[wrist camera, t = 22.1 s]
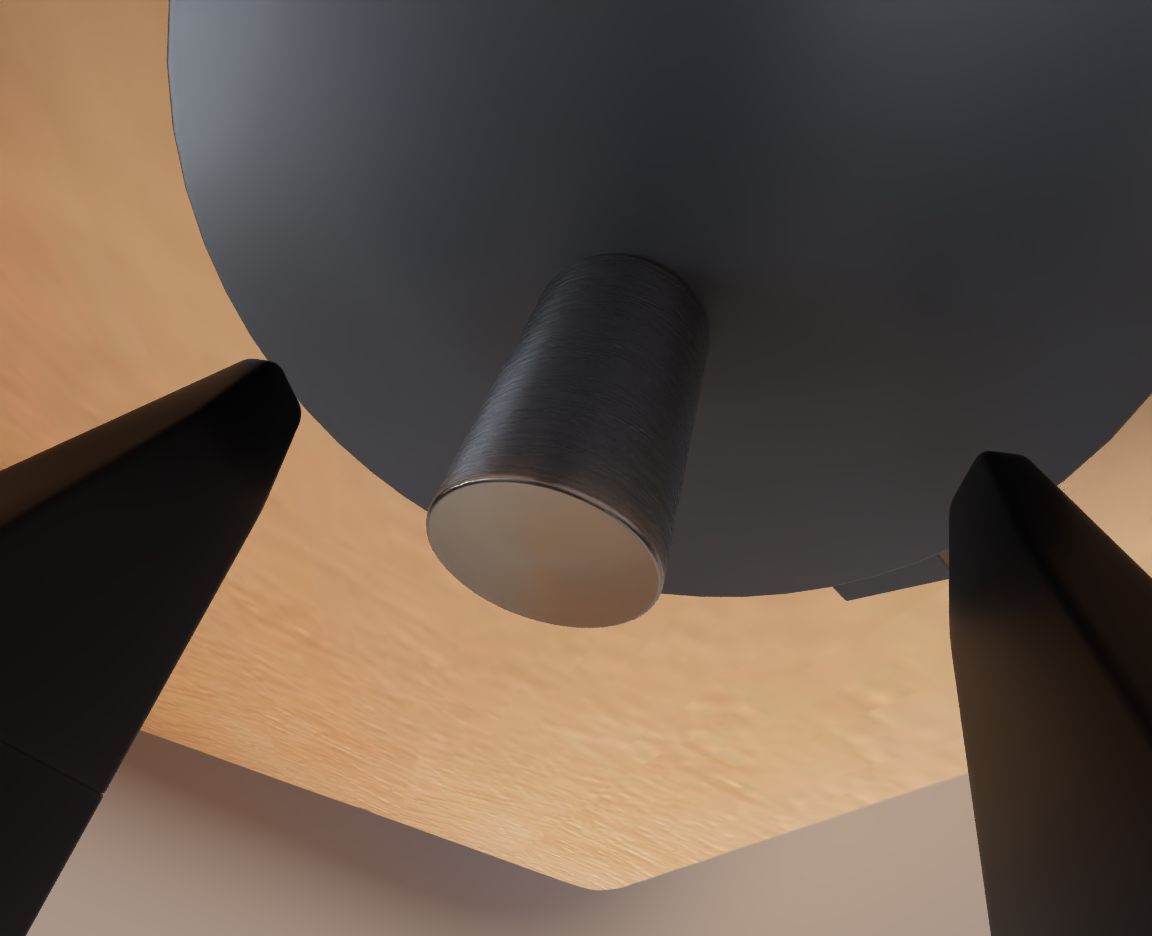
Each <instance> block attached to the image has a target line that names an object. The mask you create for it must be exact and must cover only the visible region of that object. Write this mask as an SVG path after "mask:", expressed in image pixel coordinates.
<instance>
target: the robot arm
mask: <svg viewBox="0 0 1152 936" xmlns="http://www.w3.org/2000/svg"><path fill="white" fill-rule="evenodd" d="M300 418H301V408H300V404H299V402H298V400H297V398H296V396H295V394H294V392H293V390H292V388H291V386H290V384H289V382H288V379H287V377H286V375H285V373H284V371H283V370H282V368H281V367H280V366H279V365H278V364H277V363H275V362H272V361H266V360H258V359H246V360H243V361H241V362H238V363H236V364H234V365H232V366H230V367H227V368H225V369H223V370H221V371H219V372H216V373H214V374H212V375H210V376H208V377H206V378H203V379H201V380H199V381H197V382H195V383H192V384H190V385H188V386H186V387H184V388H181V389H179V390H177V391H175V392H173V393H170V394H168V395H166V396H164V397H162V398H159V399H157V400H155V401H153V402H151V403H148V404H146V405H144V406H142V407H140V408H137V409H135V410H133V411H131V412H129V413H126V414H124V415H122V416H120V417H118V418H116V419H113V420H111V421H109V422H107V423H105V424H102V425H100V426H98V427H96V428H94V429H91V430H89V431H87V432H85V433H83V434H80V435H78V436H76V437H74V438H72V439H69V440H67V441H65V442H63V443H61V444H58V445H56V446H54V447H52V448H50V449H47V450H45V451H43V452H41V453H39V454H37V455H34V456H32V457H30V458H28V459H26V460H23V461H21V462H19V463H17V464H15V465H12V466H10V467H8V468H6V469H4V470H1V471H0V936H26V934H27V933H28V931H29V929H30V927H31V925H32V923H33V922H34V920H35V918H36V916H37V915H38V913H39V911H40V909H41V907H42V906H43V904H44V902H45V900H46V898H47V897H48V895H49V893H50V891H51V889H52V888H53V886H54V884H55V882H56V880H57V879H58V877H59V875H60V873H61V871H62V870H63V868H64V866H65V864H66V863H67V861H68V859H69V857H70V855H71V854H72V852H73V850H74V848H75V846H76V844H77V843H78V841H79V839H80V837H81V836H82V834H83V832H84V830H85V828H86V827H87V825H88V823H89V821H90V819H91V817H92V816H93V814H94V812H95V810H96V809H97V806H98V805H99V803H100V801H101V800H102V798H103V794H102V793H104V792H105V791H106V790H107V788H108V786H109V784H110V782H111V781H112V779H113V777H114V775H115V773H116V772H117V770H118V768H119V766H120V765H121V763H122V761H123V759H124V757H125V756H126V754H127V752H128V750H129V748H130V747H131V745H132V743H133V741H134V739H135V737H136V736H137V734H138V732H139V730H140V729H141V727H142V725H143V723H144V721H145V720H146V718H147V716H148V714H149V712H150V711H151V709H152V707H153V705H154V703H155V702H156V700H157V698H158V696H159V695H160V693H161V691H162V689H163V687H164V686H165V684H166V682H167V680H168V678H169V677H170V675H171V673H172V671H173V669H174V668H175V666H176V664H177V662H178V660H179V659H180V657H181V655H182V653H183V651H184V650H185V648H186V646H187V644H188V642H189V641H190V639H191V637H192V635H193V634H194V632H195V630H196V628H197V626H198V625H199V623H200V621H201V619H202V617H203V616H204V614H205V612H206V610H207V608H208V607H209V605H210V603H211V601H212V599H213V598H214V596H215V594H216V592H217V590H218V589H219V587H220V585H221V583H222V581H223V580H224V578H225V576H226V574H227V572H228V571H229V569H230V567H231V565H232V564H233V562H234V560H235V558H236V556H237V555H238V553H239V551H240V549H241V547H242V546H243V544H244V542H245V540H246V538H247V537H248V535H249V533H250V531H251V529H252V528H253V526H254V524H255V522H256V520H257V518H258V516H259V515H260V513H261V511H262V509H263V507H264V504H265V502H266V500H267V498H268V496H269V493H270V491H271V489H272V486H273V484H274V482H275V479H276V477H277V475H278V472H279V470H280V467H281V465H282V463H283V460H284V458H285V456H286V453H287V451H288V449H289V446H290V444H291V442H292V439H293V437H294V435H295V432H296V430H297V427H298V425H299V422H300ZM949 625H950V640H951V650H952V658H953V665H954V672H955V679H956V686H957V694H958V701H959V708H960V715H961V722H962V730H963V737H964V744H965V751H966V758H967V766H968V773H969V780H970V787H971V794H972V802H973V809H974V816H975V823H976V830H977V837H978V844H979V852H980V859H981V866H982V874H983V880H984V888H985V895H986V902H987V909H988V917H989V924H990V931H991V936H1152V578H1151V577H1150V576H1149V575H1148V574H1147V573H1146V572H1145V571H1144V570H1143V569H1142V568H1141V567H1140V566H1139V565H1138V564H1137V563H1136V562H1134V561H1133V560H1132V559H1131V558H1130V557H1129V556H1128V555H1127V554H1126V553H1125V552H1124V551H1123V550H1122V549H1121V548H1120V547H1119V546H1118V545H1117V544H1116V543H1115V542H1114V541H1113V540H1112V539H1111V538H1110V537H1109V536H1108V535H1107V534H1106V533H1105V532H1104V531H1103V530H1102V529H1101V528H1100V527H1099V526H1097V525H1096V524H1095V523H1094V522H1093V521H1092V520H1091V519H1090V518H1089V517H1088V516H1087V515H1086V514H1085V513H1084V512H1083V511H1082V510H1081V509H1080V508H1079V507H1078V506H1077V505H1076V504H1075V503H1074V502H1073V501H1072V500H1071V499H1070V498H1069V497H1068V496H1067V495H1066V494H1065V493H1064V492H1063V491H1062V490H1060V489H1059V488H1058V487H1057V486H1056V485H1055V484H1054V483H1053V482H1052V481H1051V480H1050V479H1049V478H1048V477H1047V476H1046V475H1045V474H1044V473H1043V472H1042V471H1041V470H1040V469H1039V468H1038V467H1037V466H1036V465H1035V464H1034V463H1033V462H1032V461H1031V460H1029V459H1028V458H1027V457H1025V456H1023V455H1019V454H1012V453H1004V452H996V451H985V452H982V453H981V454H979V455H978V456H977V458H976V459H975V460H974V462H973V464H972V466H971V467H970V469H969V471H968V473H967V474H966V476H965V478H964V480H963V481H962V483H961V485H960V487H959V488H958V490H957V492H956V494H955V495H954V497H953V499H952V502H951V506H950V511H949Z"/></svg>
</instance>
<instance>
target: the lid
mask: <svg viewBox="0 0 1152 936" xmlns="http://www.w3.org/2000/svg"><path fill="white" fill-rule="evenodd" d="M167 68H168V79H169V90H170V101H171V112H172V123H173V130H174V135H175V140H176V144H177V149H178V154H179V159H180V163H181V168H182V173H183V177H184V182H185V187H186V190H187V193H188V196H189V199H190V202H191V205H192V208H193V211H194V214H195V217H196V221H197V224H198V227H199V230H200V233H201V236H202V239H203V242H204V244H205V246H206V249H207V251H208V253H209V255H210V258H211V260H212V262H213V264H214V267H215V269H216V271H217V273H218V275H219V278H220V280H221V282H222V284H223V287H224V289H225V291H226V293H227V295H228V297H229V298H230V300H231V302H232V304H233V305H234V307H235V309H236V311H237V312H238V314H239V316H240V318H241V319H242V321H243V323H244V325H245V327H246V328H247V330H248V332H249V334H250V335H251V337H252V338H253V340H254V341H255V343H256V344H257V346H258V347H259V348H260V350H261V351H262V353H263V354H264V356H265V357H266V359H267V360H268V361H272V362H275V363H277V364H278V365H279V366H280V367H281V368H282V370H283V371H284V373H285V375H286V377H287V379H288V382H289V384H290V386H291V388H292V390H293V392H294V394H295V396H296V398H297V399H298V400H299V401H300V403H301V404H302V405H303V406H304V407H305V409H306V410H307V411H308V412H309V413H310V414H311V415H312V416H313V417H314V418H315V419H316V420H317V421H318V422H319V423H320V424H321V425H322V426H323V427H324V428H325V430H326V431H327V432H328V433H329V434H330V435H331V436H332V437H333V438H334V439H335V440H336V441H337V442H338V443H339V444H340V445H341V446H343V447H344V448H345V449H346V450H347V451H348V452H349V453H351V454H352V455H353V456H354V457H355V458H356V459H357V460H359V461H360V462H361V463H362V464H363V465H364V466H365V467H366V468H368V469H369V470H370V471H371V472H372V473H374V474H375V475H376V476H378V477H379V478H380V479H382V480H383V481H384V482H386V483H387V484H388V485H390V486H391V487H392V488H394V489H395V490H396V491H398V492H399V493H400V494H402V495H403V496H404V497H406V498H407V499H409V500H411V501H412V502H414V503H415V504H417V505H418V506H420V507H421V508H423V509H424V510H426V511H428V512H427V518H426V528H427V535H428V539H429V542H430V544H431V547H432V549H433V551H434V552H435V554H436V556H437V557H438V559H439V560H440V561H441V563H442V564H443V565H444V566H445V568H446V569H447V570H448V571H449V572H450V573H451V574H452V575H453V576H454V577H455V578H456V579H458V580H459V581H460V582H461V583H462V584H463V585H465V586H466V587H468V588H469V589H470V590H472V591H473V592H474V593H476V594H478V595H479V596H481V597H483V598H484V599H486V600H488V601H490V602H491V603H493V604H495V605H497V606H499V607H501V608H504V609H506V610H508V611H510V612H513V613H516V614H518V615H521V616H524V617H527V618H530V619H533V620H537V621H541V622H545V623H549V624H554V625H560V626H567V627H577V628H598V627H608V626H615V625H618V624H622V623H626V622H628V621H631V620H634V619H636V618H638V617H639V616H641V615H643V614H644V613H645V612H647V611H648V610H649V609H650V608H651V607H652V606H653V605H654V603H655V602H656V601H657V600H658V598H659V596H660V594H661V593H662V594H674V595H687V596H700V597H747V596H761V595H775V594H787V593H794V592H801V591H807V590H814V589H821V588H827V587H832V586H836V585H841V584H845V583H849V582H853V581H858V580H862V579H866V578H870V577H875V576H878V575H881V574H884V573H887V572H890V571H893V570H896V569H899V568H902V567H905V566H908V565H911V564H914V563H917V562H920V561H923V560H925V559H927V558H930V557H932V556H934V555H937V554H939V553H941V552H943V551H946V550H948V549H949V511H950V506H951V502H952V499H953V497H954V495H955V494H956V492H957V490H958V488H959V487H960V485H961V483H962V481H963V480H964V478H965V476H966V474H967V473H968V471H969V469H970V467H971V466H972V464H973V462H974V460H975V459H976V458H977V456H978V455H979V454H981V453H982V452H985V451H996V452H1004V453H1012V454H1019V455H1023V456H1025V457H1027V458H1028V459H1029V460H1031V461H1032V462H1033V463H1034V464H1035V465H1036V466H1037V467H1038V468H1039V469H1040V470H1041V471H1042V472H1043V473H1044V474H1045V475H1046V476H1047V477H1048V478H1049V479H1050V480H1051V481H1052V482H1053V483H1054V484H1055V485H1056V486H1057V485H1059V484H1060V483H1061V482H1063V481H1064V480H1065V479H1066V478H1067V477H1069V476H1070V475H1071V474H1072V473H1073V472H1074V471H1075V470H1077V469H1078V468H1079V467H1080V466H1081V465H1082V464H1083V463H1085V462H1086V461H1087V460H1088V459H1089V458H1090V457H1091V456H1092V455H1094V454H1095V453H1096V452H1097V451H1098V450H1099V449H1100V448H1102V447H1103V446H1104V445H1105V444H1106V443H1107V442H1108V441H1110V440H1111V438H1112V437H1113V436H1114V435H1115V434H1116V433H1117V432H1118V431H1119V430H1120V428H1121V427H1122V426H1123V425H1124V424H1125V423H1126V422H1127V421H1128V419H1129V418H1130V417H1131V416H1132V415H1133V414H1134V413H1135V412H1136V410H1137V409H1138V408H1139V407H1140V406H1141V405H1142V404H1143V403H1144V402H1145V400H1146V399H1147V398H1148V397H1149V396H1150V395H1151V394H1152V0H169V18H168V45H167Z"/></svg>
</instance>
